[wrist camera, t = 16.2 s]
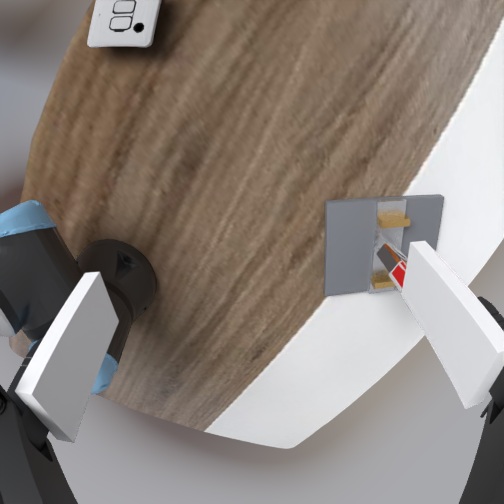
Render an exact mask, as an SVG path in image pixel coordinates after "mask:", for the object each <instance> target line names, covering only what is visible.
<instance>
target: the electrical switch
mask: <svg viewBox="0 0 504 504" xmlns="http://www.w3.org/2000/svg"><path fill="white" fill-rule="evenodd" d="M161 1H162V0H96V4H95V8H94V12H93V17H92V21H91V26H90V31H89V36H88V42H87V44H88V45H89V47H91V48H100V47H109V46H137V47H143V48H147V47H149V46H151V45H152V43H153V38H154V33H155V28H156V23H157V19H158V14H159V10H160V5H161ZM140 26H143V29H142V30H141V31H139V28H140Z"/></svg>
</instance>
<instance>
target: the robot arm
mask: <svg viewBox="0 0 504 504" xmlns="http://www.w3.org/2000/svg"><path fill="white" fill-rule="evenodd" d="M155 289H156V279H155V275H154V272H153V269H152V267H151V265H150V264H149V262H148V261H147V259H146V258H145V257H144V256H143V255H142V254H141V253H140V252H139V251H138V250H136V249H135V248H133V247H132V246H130V245H128V244H126V243H123V242H121V241H117V240H110V239H105V240H99V241H95V242H93V243H91V244H89V245H88V246H87V247H86V248H85V249H84V250H83V251H82V252H81V254H80V255H79V256H78V258H77V260H76V261H75V259H74V258H73V256H72V254H71V252H70V251H69V249H68V247H67V245H66V244H65V242H64V240H63V238H62V237H61V235H60V233H59V231H58V229H57V225H56V224H55V223H53V221H52V220H51V218H50V216H49V215H48V213H47V211H46V209H45V208H44V206H43V205H42V204H41V203H40V202H38V201H36V200H29V201H26V202H24V203H21V204H19V205H18V206H15V207H13V208H11V209H9V210H7V211H5V212H3V213H2V214H0V336H5V337H13V336H15V335H16V334H17V333H18V332H19V330H20V329H22V330H23V332H24V333H25V334H26V336H27V337H28V338H29V339H30V341H31V342H32V344H31V345H30V346H29V349H28V350H29V352H28V354H27V356H26V358H25V359H24V361H23V363H22V366H21V367H20V368H19V370H18V372H17V374H16V376H15V377H14V379H13V381H12V383H11V385H10V387H9V389H8V391H7V393H6V391H5V390H4V389H3V388H2V386H1V385H0V504H78V503H77V501H76V499H75V497H74V495H73V493H72V491H71V489H70V487H69V485H68V483H67V480H66V478H65V476H64V474H63V471H62V469H61V467H60V465H59V462H58V460H57V457H56V455H55V453H54V450H53V448H52V445H51V443H50V441H49V440H48V438H47V434H48V432H49V431H50V432H51V433H52V434H53V435H54V436H55V438H56V439H58V440H62V441H67V442H73V443H74V442H75V439H76V436H77V432H78V429H79V426H80V423H81V420H82V417H83V414H84V411H85V408H86V405H87V403H88V400H89V397H90V395H91V394H97V393H100V392H102V391H104V390H105V389H106V388H107V387H108V386H109V384H110V382H111V380H112V378H113V375H114V373H115V372H116V371H117V368H118V364H119V361H120V358H121V355H122V352H123V349H124V346H125V343H126V340H127V337H128V334H129V331H130V328H131V325H132V323H133V322H134V321H135V320H136V319H137V318H138V316H139V315H141V314H142V313H143V312H144V311H145V310H146V309H147V308H148V307H149V305H150V304H151V301H152V299H153V296H154V293H155ZM401 296H402V298H403V299H404V301H405V302H406V304H407V305H408V307H409V309H410V310H411V312H412V314H413V315H414V317H415V318H416V320H417V322H418V323H419V325H420V327H421V328H422V330H423V332H424V334H425V335H426V337H427V339H428V340H429V342H430V344H431V345H432V347H433V349H434V351H435V353H436V354H437V356H438V358H439V360H440V362H441V363H442V365H443V367H444V369H445V371H446V372H447V374H448V376H449V378H450V380H451V382H452V384H453V386H454V388H455V389H456V391H457V393H458V395H459V397H460V399H461V401H462V403H463V405H464V407H465V409H466V408H469V407H471V406H474V405H476V404H479V403H481V402H482V401H483V399H484V398H485V397H486V395H487V394H488V392H490V394H491V396H492V400H491V401H490V402H489V404H488V405H487V407H486V408H485V410H484V411H483V412H482V414H481V416H480V417H481V418H482V417H484V415H485V414H486V412H487V416H486V420H485V424H484V428H483V432H482V436H481V440H480V443H479V447H478V450H477V454H476V457H475V460H474V463H473V466H472V469H471V472H470V475H469V478H468V481H467V484H466V486H465V489H464V491H463V494H462V497H461V499H460V502H459V504H504V318H503V317H502V316H501V314H499V312H498V311H497V310H496V308H495V307H494V306H493V305H492V304H491V303H490V302H488V301H487V300H486V299H484V298H483V297H476V296H475V295H474V294H473V293H472V291H471V290H470V289H469V288H468V287H467V286H466V285H465V283H464V282H463V281H462V280H461V279H460V278H459V277H458V275H457V274H456V273H455V272H454V271H453V270H452V269H451V268H450V267H449V265H448V264H447V263H446V262H445V261H444V260H443V259H442V258H441V257H440V256H439V255H438V254H437V253H436V252H435V250H434V249H433V248H432V247H431V246H430V245H429V244H428V243H427V242H426V241H417V242H410V247H409V254H408V260H407V266H406V272H405V277H404V282H403V288H402V293H401Z"/></svg>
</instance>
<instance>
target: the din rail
mask: <svg viewBox="0 0 504 504" xmlns="http://www.w3.org/2000/svg"><path fill="white" fill-rule="evenodd" d="M406 201H407V200H405V199H389V200H376V214H375V228H374V240H373V250H372V260H371V269H370V278H369V286H368V292H369V293H375V292H382V291H389V290H394V289H395V286H396V285H395V284H394V282H393V281H392V279H391V278H390V277H389V272H388V270H387V269H386V267H385V266H384V264H383V263H382V261H381V260H380V259H379V257H378V256H377V254H376V253H377V252H378V251H379V249H380V248H381V247H382V246H383V244H388V243H391V244H392V245H394V246H395V247H396V248H398V249H399V250H400V251H401V245H402V237H403V229H404V227H406V226H410V220H411V219H410V218H409V217H408V216H407V215H406V214H405V211H406Z"/></svg>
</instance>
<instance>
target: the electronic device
mask: <svg viewBox="0 0 504 504" xmlns="http://www.w3.org/2000/svg"><path fill="white" fill-rule="evenodd" d="M376 254H377V256H378V257H379V259H380V260H381V261H382V263H383V264H384V266H385V267H386V269H387V270H388V272H389V277H390V278H391V279H392V281H393V282H394V284H395V285H396V287H397V288H398V290H399V291H400V293H402V288H403V282H404V277H405V272H406V266H407V260H408V258H407V257H406V256H405V255H404V254H403V253H402V252H401V251H400V250H399V249H398V248H396V247H395V246H394V245H392V244H391V243H388V244H383V246H382V247H381V248H380V249H379V251H378V252H377V253H376Z"/></svg>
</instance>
